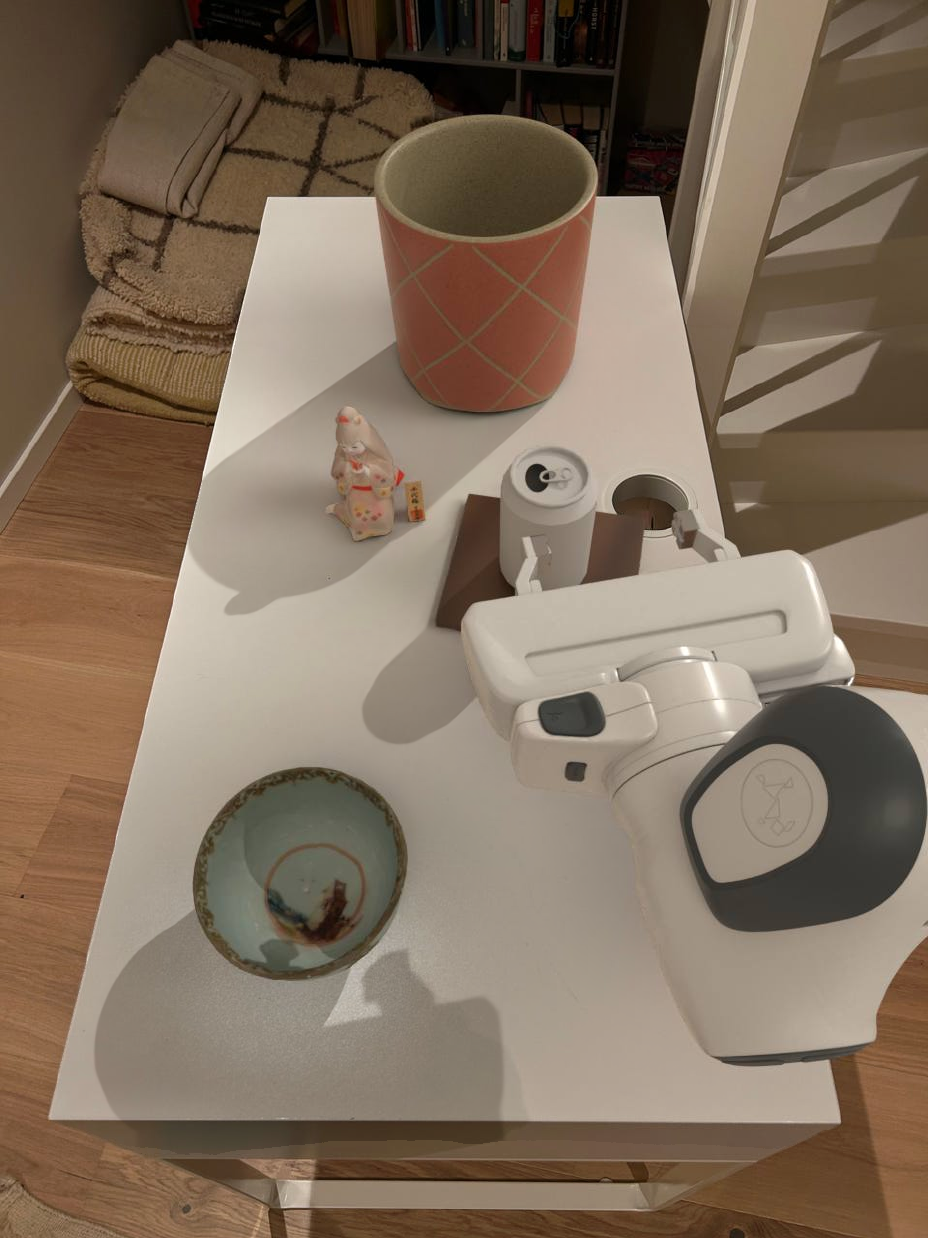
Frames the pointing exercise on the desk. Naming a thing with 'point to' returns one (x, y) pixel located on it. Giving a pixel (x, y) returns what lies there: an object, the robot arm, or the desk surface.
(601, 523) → the board
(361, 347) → the desk surface
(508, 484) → the can
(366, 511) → the figurine
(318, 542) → the desk surface
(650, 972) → the desk surface
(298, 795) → the bowl
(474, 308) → the planter
